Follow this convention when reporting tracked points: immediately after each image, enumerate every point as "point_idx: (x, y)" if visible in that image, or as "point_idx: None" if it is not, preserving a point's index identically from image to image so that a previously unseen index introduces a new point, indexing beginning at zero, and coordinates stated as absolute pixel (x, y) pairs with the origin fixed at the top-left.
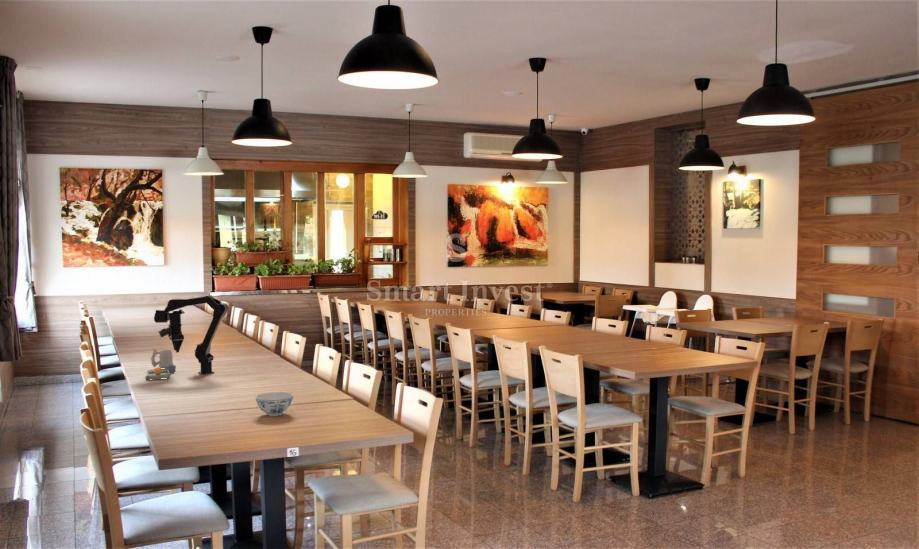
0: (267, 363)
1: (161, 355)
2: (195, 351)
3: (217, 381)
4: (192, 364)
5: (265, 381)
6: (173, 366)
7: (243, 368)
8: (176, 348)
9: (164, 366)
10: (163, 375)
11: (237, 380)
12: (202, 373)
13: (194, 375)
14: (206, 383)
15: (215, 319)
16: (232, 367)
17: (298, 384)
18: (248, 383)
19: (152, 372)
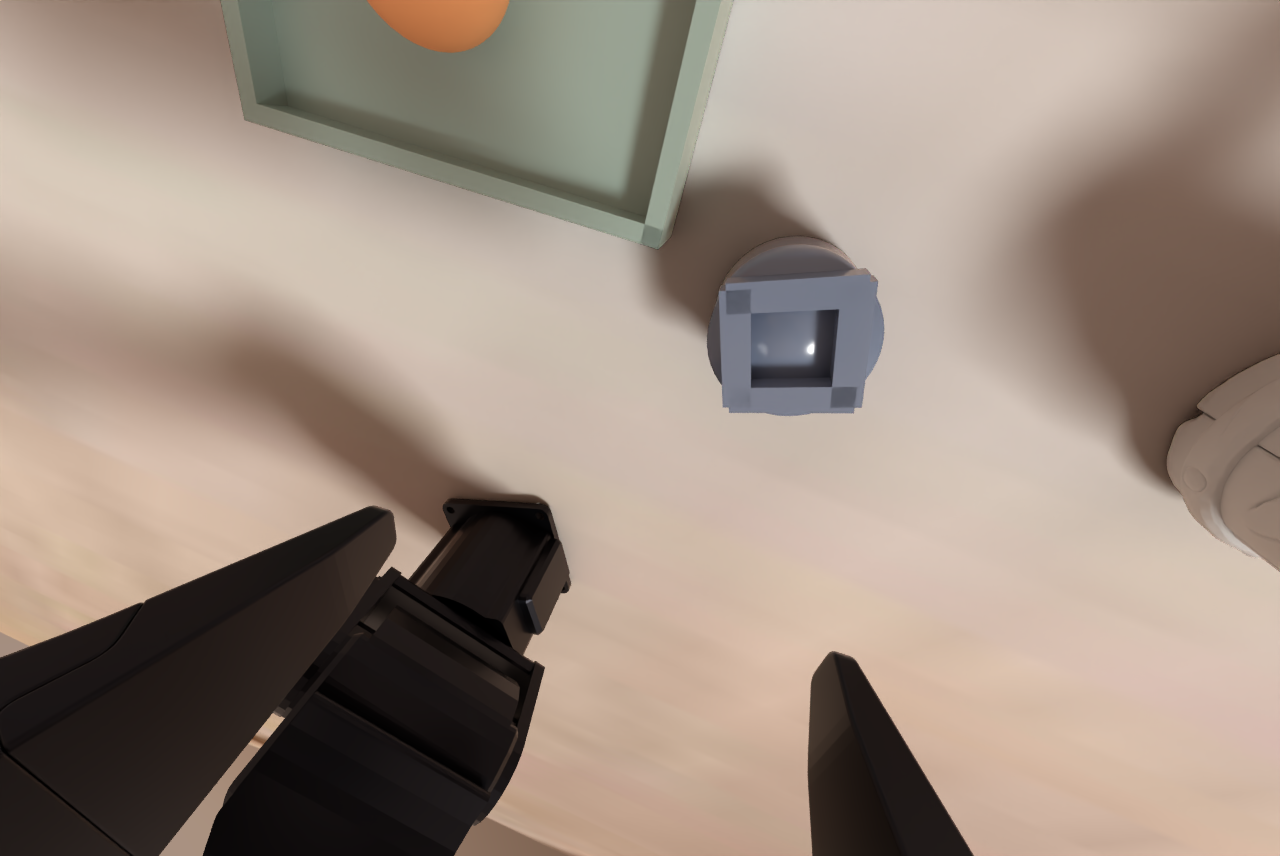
0: (663, 845)
1: None
2: (312, 696)
3: (118, 429)
4: (1166, 715)
5: (112, 582)
6: (722, 372)
7: (574, 736)
8: (237, 581)
9: (1271, 392)
10: (232, 3)
11: (150, 522)
12: (455, 502)
13: (444, 432)
14: (33, 337)
15: None
16: (661, 735)
17: (41, 610)
18: (52, 511)
19: None
